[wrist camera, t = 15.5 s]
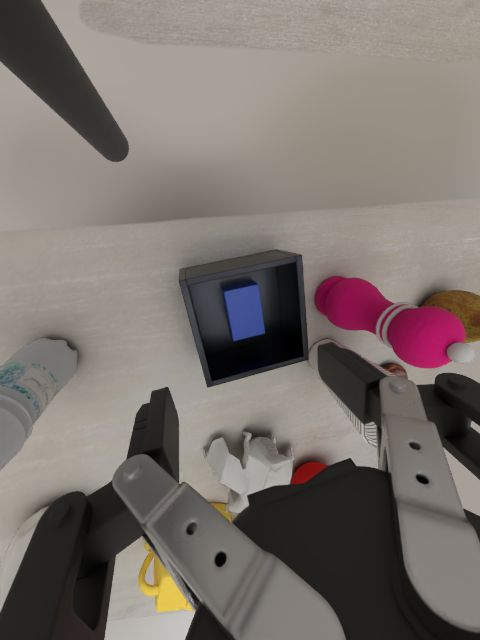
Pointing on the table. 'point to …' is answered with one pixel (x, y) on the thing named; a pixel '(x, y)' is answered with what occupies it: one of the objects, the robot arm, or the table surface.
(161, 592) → the teapot
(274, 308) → the black open box
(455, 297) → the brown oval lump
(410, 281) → the table surface
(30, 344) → the bottle
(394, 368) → the pastry
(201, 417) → the table surface
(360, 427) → the cup
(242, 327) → the blue rectangular block
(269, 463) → the dragon figurine
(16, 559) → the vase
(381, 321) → the pepper mill
